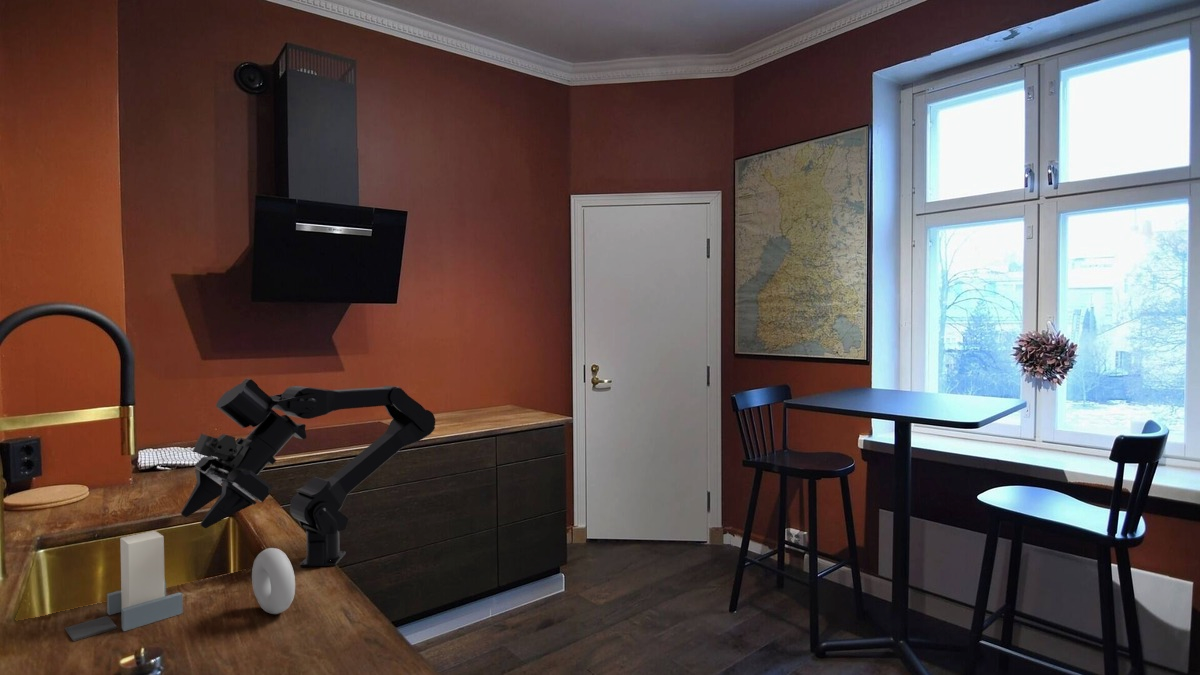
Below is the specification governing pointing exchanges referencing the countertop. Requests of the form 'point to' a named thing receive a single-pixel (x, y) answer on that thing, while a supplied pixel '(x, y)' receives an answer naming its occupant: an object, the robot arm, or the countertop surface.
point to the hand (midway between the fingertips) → (192, 521)
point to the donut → (273, 580)
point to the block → (142, 568)
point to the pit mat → (90, 628)
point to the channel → (145, 609)
